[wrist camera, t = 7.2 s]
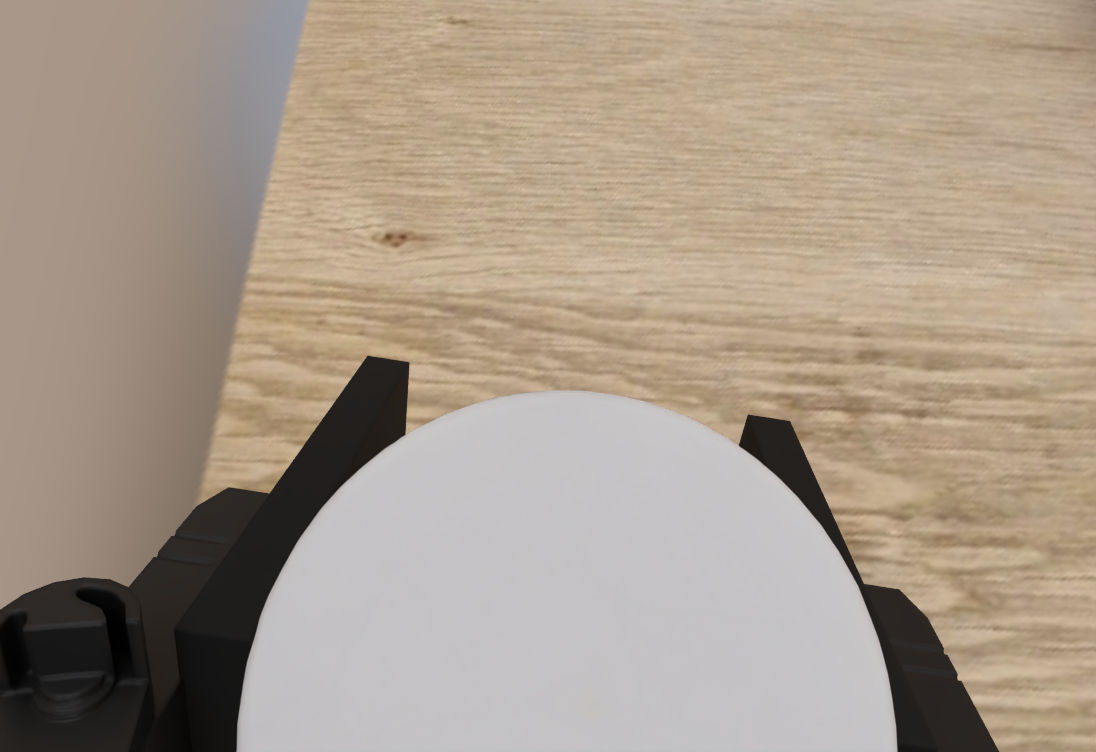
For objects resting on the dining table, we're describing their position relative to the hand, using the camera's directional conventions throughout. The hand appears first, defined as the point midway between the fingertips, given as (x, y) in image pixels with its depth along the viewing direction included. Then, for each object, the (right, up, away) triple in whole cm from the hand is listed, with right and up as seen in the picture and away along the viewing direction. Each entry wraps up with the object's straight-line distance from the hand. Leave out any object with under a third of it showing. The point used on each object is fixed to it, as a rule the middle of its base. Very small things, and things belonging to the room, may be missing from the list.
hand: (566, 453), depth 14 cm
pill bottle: (-1, -5, +2) cm, 5 cm away
